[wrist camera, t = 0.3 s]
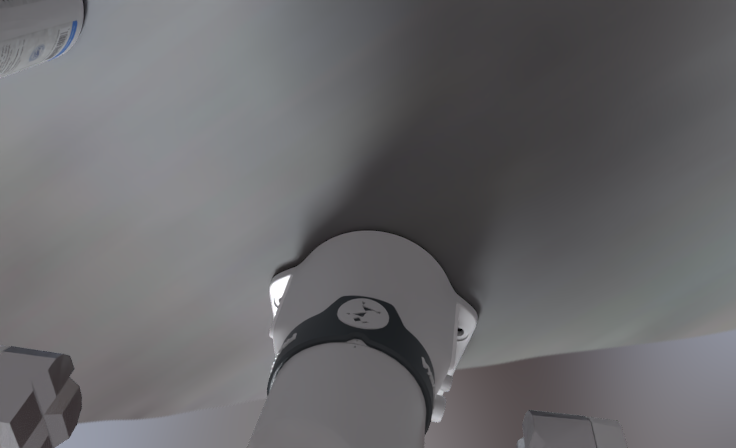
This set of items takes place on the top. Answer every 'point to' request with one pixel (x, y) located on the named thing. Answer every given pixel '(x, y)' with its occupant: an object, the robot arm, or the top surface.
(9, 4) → the supplement tub
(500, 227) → the top surface
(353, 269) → the robot arm
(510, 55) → the top surface
